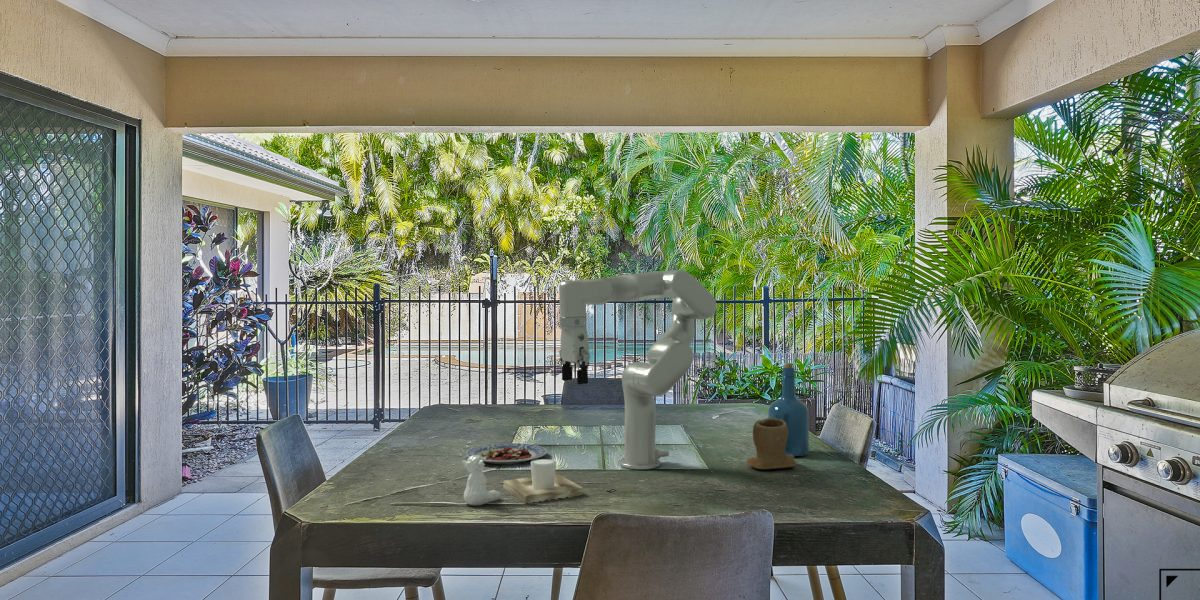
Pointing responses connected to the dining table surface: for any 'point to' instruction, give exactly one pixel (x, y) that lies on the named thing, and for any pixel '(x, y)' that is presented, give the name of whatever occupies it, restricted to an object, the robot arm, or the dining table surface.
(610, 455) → the dining table surface
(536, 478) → the white cup
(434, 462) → the dining table surface
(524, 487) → the coaster board
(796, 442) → the wine bottle
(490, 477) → the dining table surface
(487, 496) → the sitting furry creature
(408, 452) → the dining table surface
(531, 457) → the ceramic plate
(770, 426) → the stone cup
